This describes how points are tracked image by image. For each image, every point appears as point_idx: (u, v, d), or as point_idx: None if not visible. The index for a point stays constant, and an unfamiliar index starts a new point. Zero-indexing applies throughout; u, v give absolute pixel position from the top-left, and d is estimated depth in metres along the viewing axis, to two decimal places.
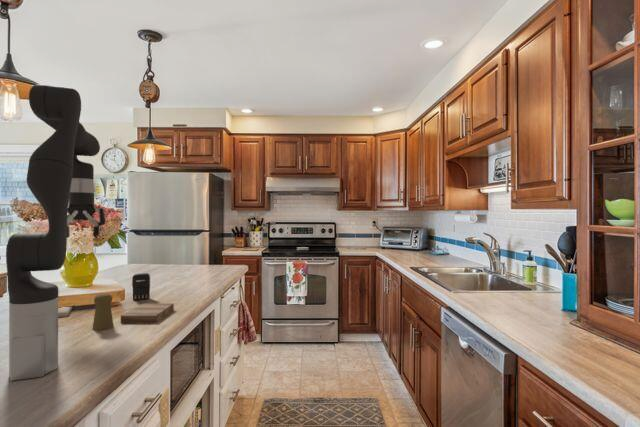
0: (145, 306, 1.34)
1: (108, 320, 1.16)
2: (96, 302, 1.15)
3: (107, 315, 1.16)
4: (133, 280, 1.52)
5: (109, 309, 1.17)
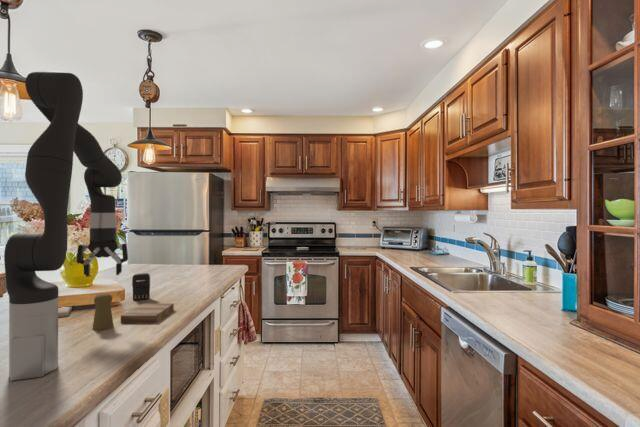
0: (145, 306, 1.34)
1: (108, 320, 1.16)
2: (96, 302, 1.15)
3: (107, 315, 1.16)
4: (133, 280, 1.52)
5: (109, 309, 1.17)
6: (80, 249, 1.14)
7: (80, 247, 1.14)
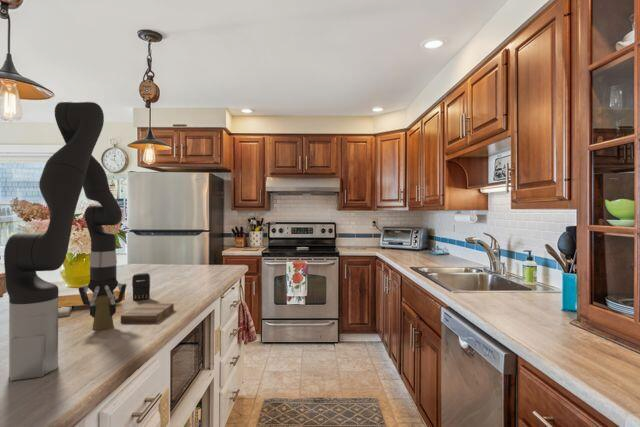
0: (145, 306, 1.34)
1: (108, 320, 1.16)
2: (96, 302, 1.15)
3: (107, 315, 1.16)
4: (133, 280, 1.52)
5: (109, 309, 1.17)
6: (82, 291, 1.14)
7: (81, 289, 1.14)
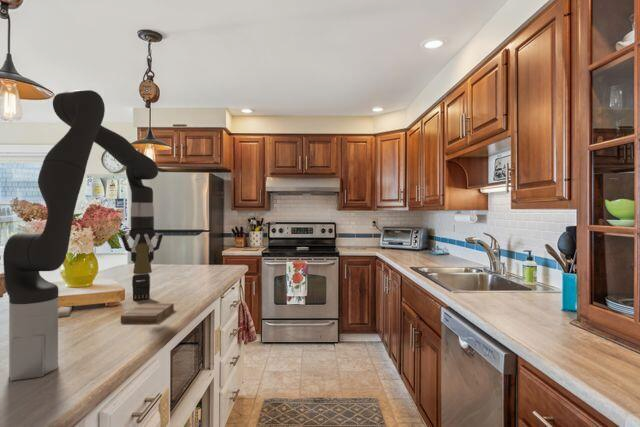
0: (145, 306, 1.34)
1: (147, 265, 1.28)
2: (137, 248, 1.27)
3: (147, 261, 1.28)
4: (133, 280, 1.52)
5: (148, 256, 1.29)
6: (124, 238, 1.26)
7: (123, 236, 1.26)
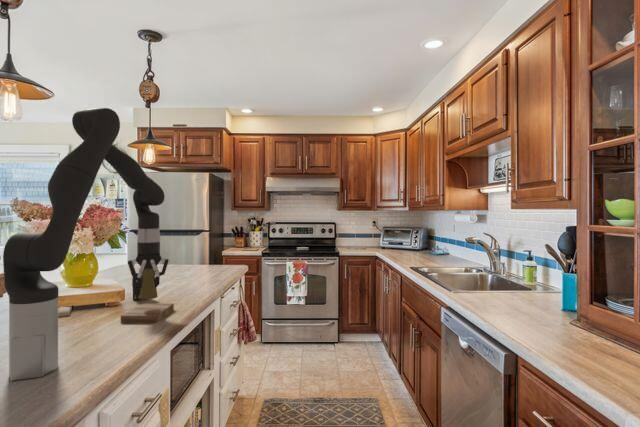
0: (145, 306, 1.34)
1: (153, 290, 1.29)
2: (143, 274, 1.28)
3: (153, 286, 1.30)
4: (133, 280, 1.52)
5: (154, 281, 1.30)
6: (130, 264, 1.27)
7: (130, 262, 1.27)
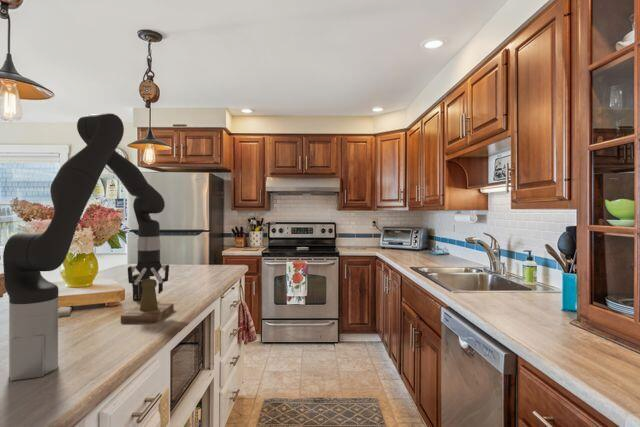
0: None
1: (153, 302, 1.29)
2: (143, 286, 1.28)
3: (153, 298, 1.30)
4: None
5: (154, 292, 1.30)
6: (130, 270, 1.27)
7: (129, 269, 1.27)
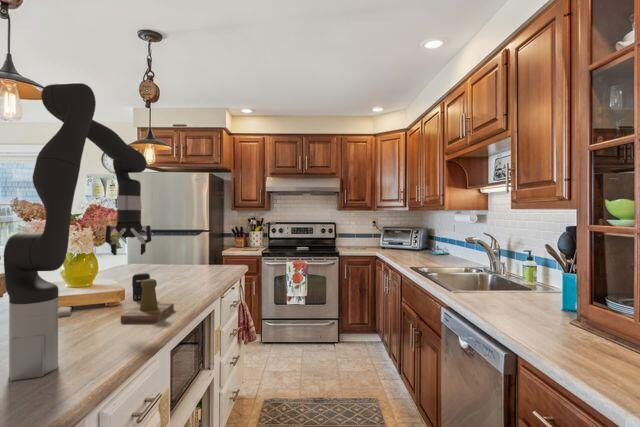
0: None
1: (153, 302, 1.29)
2: (143, 286, 1.28)
3: (153, 298, 1.30)
4: (133, 280, 1.52)
5: (154, 292, 1.30)
6: (108, 229, 1.23)
7: (108, 227, 1.23)
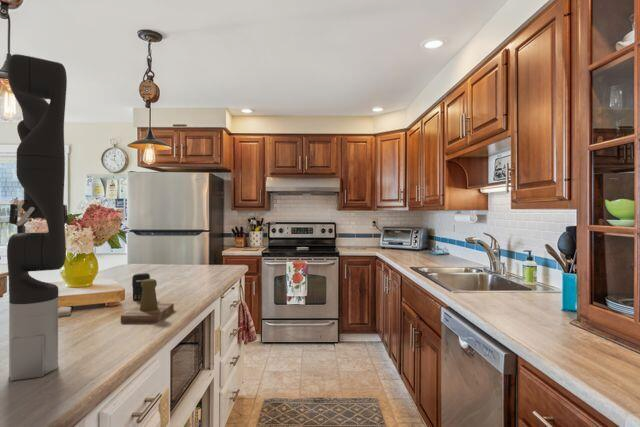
0: None
1: (153, 302, 1.29)
2: (143, 286, 1.28)
3: (153, 298, 1.30)
4: (133, 280, 1.52)
5: (154, 292, 1.30)
6: (13, 208, 1.07)
7: (13, 206, 1.07)
